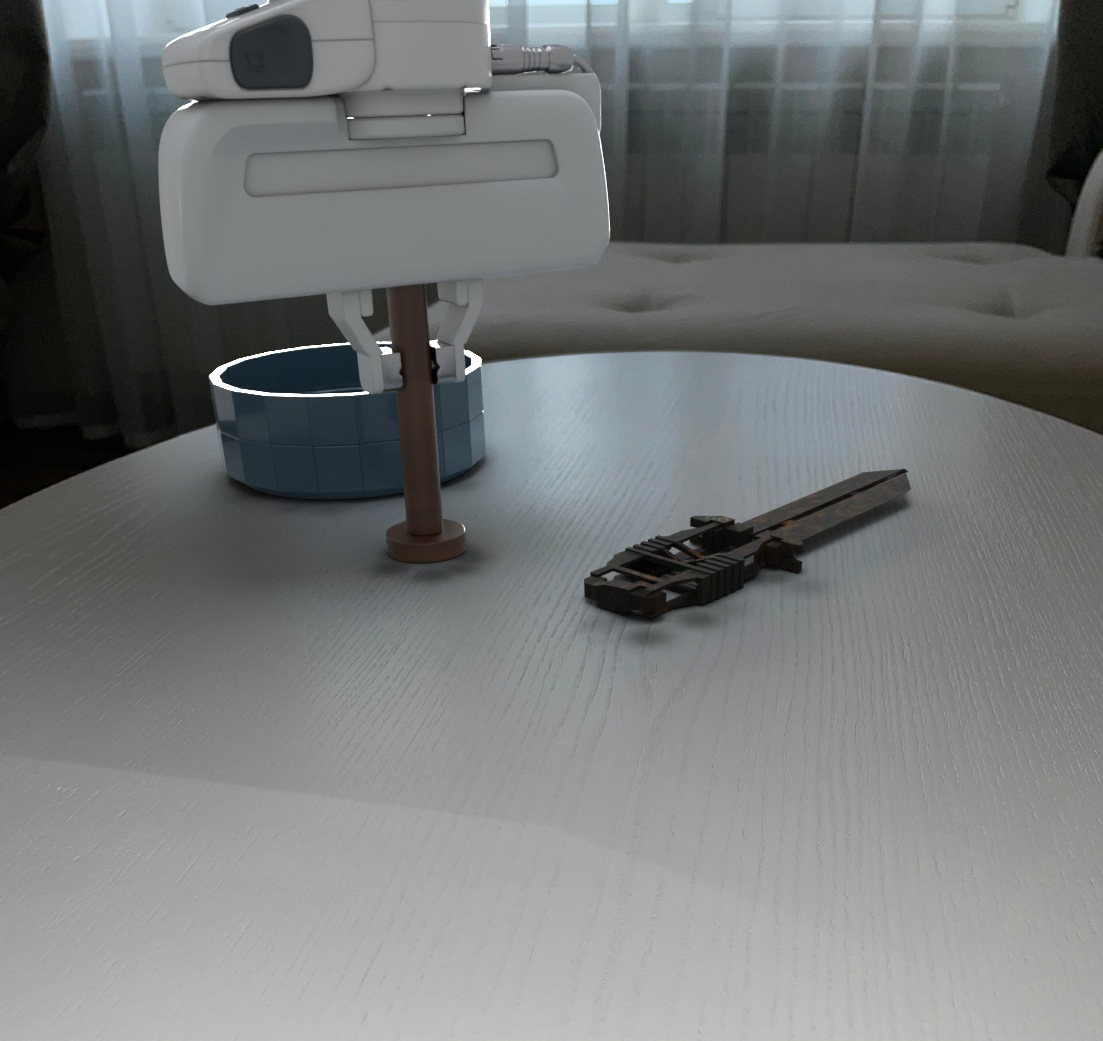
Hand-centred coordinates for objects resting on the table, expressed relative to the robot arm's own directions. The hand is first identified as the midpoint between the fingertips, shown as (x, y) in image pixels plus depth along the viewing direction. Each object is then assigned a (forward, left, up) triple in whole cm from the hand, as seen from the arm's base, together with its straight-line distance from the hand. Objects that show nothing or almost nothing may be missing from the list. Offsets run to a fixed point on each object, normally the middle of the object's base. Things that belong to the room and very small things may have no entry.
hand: (413, 386), depth 54 cm
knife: (+17, +5, -8) cm, 19 cm away
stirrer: (0, 0, -8) cm, 8 cm away
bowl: (-10, +14, -8) cm, 19 cm away
